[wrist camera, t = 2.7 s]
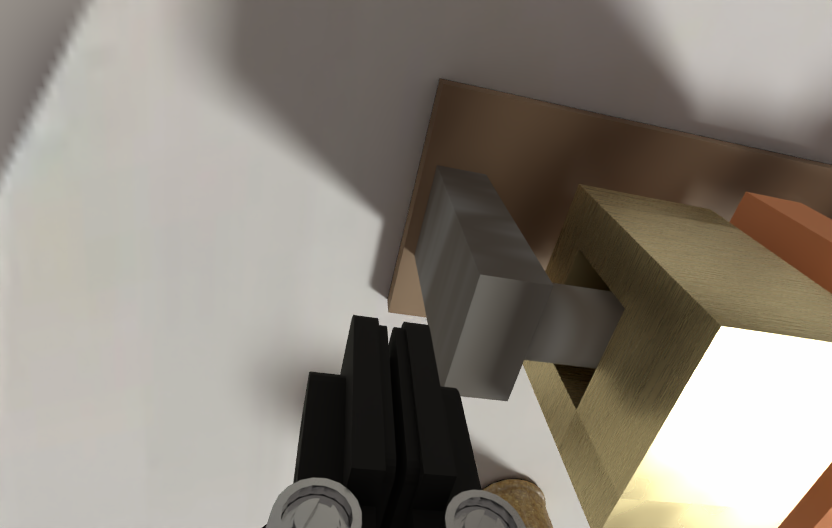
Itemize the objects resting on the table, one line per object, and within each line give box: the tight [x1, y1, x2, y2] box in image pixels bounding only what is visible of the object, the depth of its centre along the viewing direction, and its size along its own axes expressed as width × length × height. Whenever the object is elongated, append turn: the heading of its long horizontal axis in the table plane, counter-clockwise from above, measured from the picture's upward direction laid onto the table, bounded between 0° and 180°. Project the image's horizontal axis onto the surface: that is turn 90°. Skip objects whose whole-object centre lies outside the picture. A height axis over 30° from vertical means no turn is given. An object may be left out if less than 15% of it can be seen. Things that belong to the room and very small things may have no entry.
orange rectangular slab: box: [730, 192, 832, 528], centre depth 18 cm, size 8×2×9 cm, turn 167°
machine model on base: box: [387, 79, 832, 401], centre depth 21 cm, size 26×10×9 cm, turn 77°
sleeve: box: [523, 184, 832, 528], centre depth 16 cm, size 7×5×8 cm
